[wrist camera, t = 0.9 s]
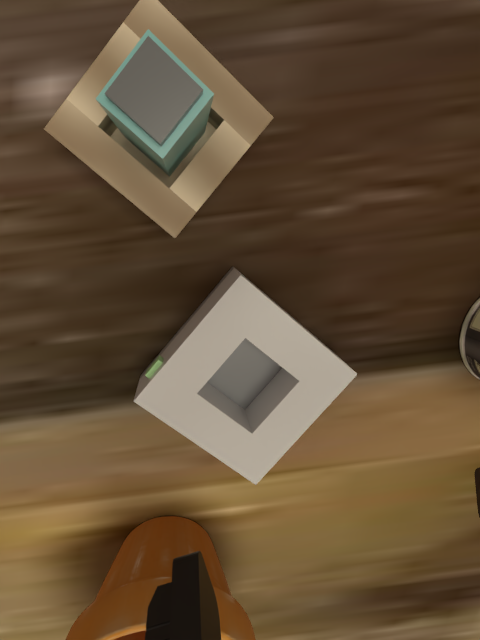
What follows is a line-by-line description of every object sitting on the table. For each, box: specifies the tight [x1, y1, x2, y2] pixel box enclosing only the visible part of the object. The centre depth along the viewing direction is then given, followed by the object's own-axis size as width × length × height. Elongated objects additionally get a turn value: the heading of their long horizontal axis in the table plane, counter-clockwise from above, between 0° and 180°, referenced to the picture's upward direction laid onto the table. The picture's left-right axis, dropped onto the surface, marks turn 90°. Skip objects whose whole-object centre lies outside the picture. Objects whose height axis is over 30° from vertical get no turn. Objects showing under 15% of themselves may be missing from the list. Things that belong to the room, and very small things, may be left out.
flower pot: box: [66, 516, 256, 640], centre depth 33 cm, size 14×14×13 cm
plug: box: [96, 29, 214, 177], centre depth 24 cm, size 4×4×11 cm
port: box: [134, 266, 357, 485], centre depth 33 cm, size 12×12×5 cm
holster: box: [44, 0, 274, 238], centre depth 28 cm, size 10×10×5 cm
